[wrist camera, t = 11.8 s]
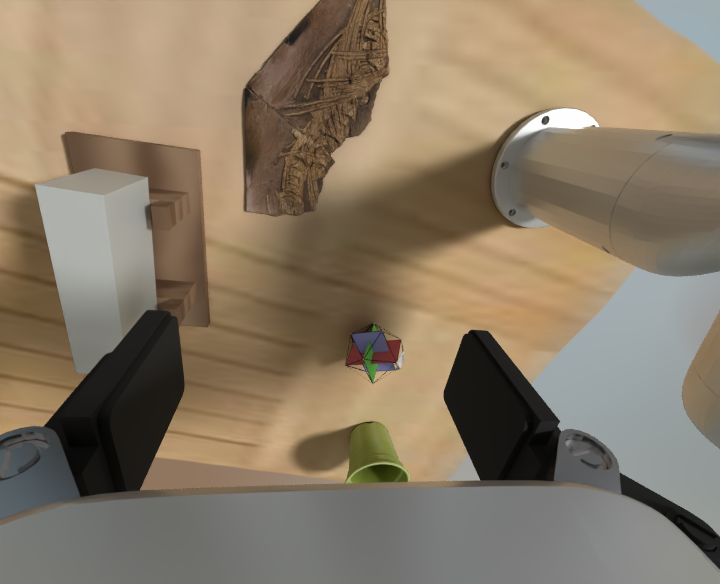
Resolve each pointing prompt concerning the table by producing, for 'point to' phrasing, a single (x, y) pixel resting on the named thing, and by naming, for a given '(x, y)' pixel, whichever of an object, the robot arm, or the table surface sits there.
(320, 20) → the wooden fragment
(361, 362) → the geometric puzzle
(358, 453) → the plant pot
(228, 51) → the table surface
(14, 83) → the table surface
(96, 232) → the clay bar
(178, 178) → the wooden display stand
